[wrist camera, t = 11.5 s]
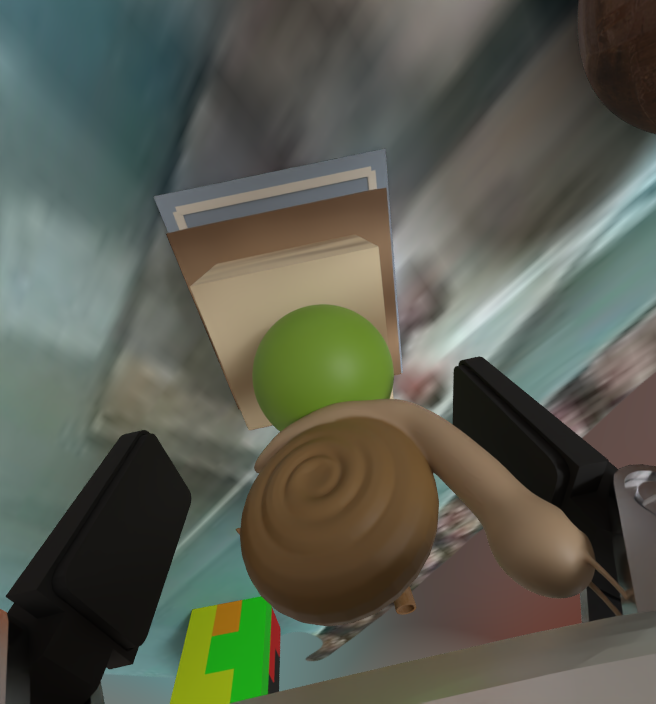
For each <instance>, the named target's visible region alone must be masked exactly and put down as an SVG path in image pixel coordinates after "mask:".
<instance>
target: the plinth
mask: <svg viewBox="0 0 656 704" xmlns="http://www.w3.org/2000/svg"><path fill="white" fill-rule="evenodd" d="M166 235H167V237H168V240H169V242H170V245H171V247H172V249H173V252H174V254H175V257H176V259H177V262H178V264H179V266H180V269H181V271H182V274H183V276H184V278H185V281H186V283H187V286H188V288H189V291H190V293H191V295H192V298H193V300H194V303H195V305H196V307H197V310H198V312H199V315H200V317H201V320H202V322H203V324H204V327H205V329H206V332H207V334H208V336H209V339H210V341H211V344H212V346H213V349H214V351H215V353H216V356H217V358H218V361H219V363H220V365H221V368H222V370H223V373H224V375H225V378H226V380H227V382H228V385H229V387H230V390H231V392H232V394H233V397H234V399H235V402H236V404H237V407H238V409H240V410H241V412H242V415H243V417H244V420H245V422H246V425H247V427H248V430H254V429H258V428H263V427H267V426H272V424H271V423H270V421H269V420H268V419H267V418H266V416H265V415H264V413H263V412H262V410H261V408H260V406H259V404H258V402H257V399H256V396H255V392H254V388H253V379H252V372H253V363H254V358H255V355H256V352H257V349H258V347H259V344H260V342H261V341H262V339H263V337H264V336H265V334H266V333H267V332H268V330H269V329H270V328H271V327H272V326H273V325H274V324H275V323H276V322H277V321H278V320H279V319H281V318H282V317H284V316H285V315H287V314H288V313H290V312H292V311H294V310H297V309H299V308H302V307H306V306H311V305H319V304H328V305H336V306H340V307H344V308H347V309H350V310H352V311H354V312H356V313H358V314H360V315H361V316H363V317H364V318H366V319H367V320H368V321H369V322H370V323H371V324H372V325H373V326H374V327H375V328H376V329H377V330H378V331H379V332H380V334H381V335H382V337H383V338H384V340H385V342H386V344H387V346H388V348H389V351H390V354H391V357H392V362H393V369H394V375H398V374H401V364H400V351H399V338H398V326H397V313H396V301H395V288H394V276H393V263H392V250H391V238H390V225H389V213H388V200H387V188H380V189H373V190H368V191H363V192H358V193H354V194H349V195H344V196H339V197H334V198H330V199H325V200H320V201H315V202H311V203H306V204H301V205H296V206H292V207H287V208H282V209H277V210H272V211H268V212H263V213H258V214H253V215H249V216H244V217H239V218H234V219H229V220H225V221H220V222H215V223H210V224H206V225H201V226H196V227H191V228H187V229H182V230H178V231H175V232H171V233H167V234H166ZM390 399H394V398H393V388H392V393H391V396H390Z"/></svg>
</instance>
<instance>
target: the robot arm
mask: <svg viewBox="0 0 656 704" xmlns="http://www.w3.org/2000/svg"><path fill="white" fill-rule="evenodd" d="M453 425H454V426H455V427H457V428H458V429H460V430H461V431H462V432H463V433H465V434H466V435H467V436H469V437H470V438H471V439H472V440H474V441H475V442H476V443H477V444H479V445H480V446H481V447H482V448H484V449H485V450H486V451H487V452H488V453H490V454H491V455H492V456H493V457H494V458H495V459H497V460H498V461H499V462H500V463H501V464H502V465H503V466H504V467H505V468H506V469H507V470H508V471H509V472H510V473H511V474H512V475H513V476H514V477H515V478H516V479H517V480H518V481H519V482H520V483H521V484H522V485H523V486H524V487H526V488H527V489H528V490H529V491H531V492H532V493H533V494H535V495H536V496H538V497H540V498H542V499H543V500H545V501H547V502H549V503H551V504H553V505H555V506H556V507H558V508H559V509H561V510H562V511H563V512H564V514H565V515H566V516H567V518H568V519H569V520H570V521H571V522H572V523H573V524H574V525H575V526H576V527H577V528H578V529H579V530H580V531H582V532H583V533H584V534H586V536H587V537H588V539H589V540H590V542H591V545H592V547H593V551H594V555H595V561H596V562H597V563H598V564H599V565H600V566H601V567H602V568H604V569H605V571H606V572H607V573H608V574H609V575H610V576H611V577H612V578H613V579H614V580H615V581H616V582H617V583H618V584H619V585H620V586H621V587H622V588H623V589H624V590H625V591H626V594H627V599H625V598H624V597H623V596H622V595H621V593H620V592H619V591H618V590H617V589H616V588H615V587H614V586H613V585H612V584H611V583H610V582H609V581H608V580H607V579H606V578H605V577H604V576H603V575H602V574H601V573H599V572H598V571H597V570H596V569H595V572H594V576H593V578H592V580H591V581H592V582H593V583H594V584H595V585H596V586H597V587H598V588H599V589H600V590H601V592H602V593H603V594H604V595H605V596H606V597H607V598H608V599H609V600H610V601H611V603H612V604H613V605H614V606H615V607H616V608H617V609H618V611H619V612H620V613H621V614H622V615H621V616H616V615H615V613H614V612H613V611H612V610H611V609H610V608H609V607H608V605H607V604H606V603H605V602H604V601H603V600H602V599H601V598H600V597H599V596H598V595H597V594H596V593H595V592H594V591H593V590H592V589H591V588H590V587H589V586H587V588H586V589H585V590H583V591H582V592H581V593H580V600H581V615H582V623H581V624H576V625H571V626H566V627H562V628H556V629H552V630H547V631H542V632H537V633H532V634H527V635H523V636H518V637H514V638H510V639H505V640H501V641H497V642H493V643H488V644H483V645H479V646H475V647H470V648H466V649H461V650H457V651H453V652H448V653H444V654H440V655H435V656H431V657H426V658H422V659H418V660H413V661H409V662H405V663H400V664H396V665H391V666H387V667H383V668H379V669H374V670H370V671H366V672H361V673H357V674H353V675H349V676H345V677H340V678H336V679H331V680H327V681H323V682H319V683H314V684H310V685H306V686H302V687H298V688H293V689H289V690H285V691H280V692H276V693H272V694H267V695H263V696H259V697H255V698H250V699H246V700H242V701H238V702H233V703H229V704H656V466H649V465H643V464H640V465H628V466H625V467H622V468H619V470H618V469H617V468H616V467H615V466H614V465H612V464H611V463H610V462H609V461H608V459H606V458H605V457H604V456H603V455H602V454H600V453H599V452H598V451H597V450H595V449H594V448H593V447H592V446H591V445H589V444H588V443H587V442H586V441H584V440H583V439H582V438H581V437H580V436H578V435H577V434H576V433H575V432H573V431H572V430H571V429H570V428H569V427H567V426H566V425H565V424H564V423H562V422H561V421H560V420H559V419H558V418H556V417H555V416H554V415H553V414H551V413H550V412H549V411H548V410H547V409H545V408H544V407H543V406H542V405H540V404H539V403H538V402H537V401H535V400H534V399H533V398H532V397H531V396H529V395H528V394H527V393H526V392H524V391H523V390H522V389H521V388H520V387H518V386H517V385H516V384H515V383H513V382H512V381H511V380H510V379H509V378H507V377H506V376H505V375H504V374H502V373H501V372H500V371H499V370H498V369H496V368H495V367H494V366H493V365H491V364H490V363H489V362H488V361H487V360H485V359H484V358H483V357H475V358H470V359H465V360H461V361H460V362H459V366H456V367H455V368H454V383H453ZM190 504H191V493H190V491H189V489H188V487H187V486H186V484H185V483H184V481H183V479H182V478H181V476H180V474H179V473H178V471H177V470H176V468H175V466H174V465H173V463H172V461H171V460H170V458H169V457H168V455H167V453H166V452H165V450H164V448H163V447H162V445H161V444H160V442H159V440H158V439H157V437H156V436H155V435H154V434H150V433H149V432H148V431H146V430H142V431H137V432H133V433H128V434H124V435H122V436H121V437H120V438H119V439H118V441H117V442H116V444H115V445H114V446H113V448H112V449H111V451H110V452H109V453H108V455H107V456H106V458H105V459H104V460H103V462H102V463H101V465H100V466H99V467H98V469H97V470H96V471H95V473H94V474H93V476H92V477H91V478H90V480H89V481H88V483H87V484H86V485H85V487H84V488H83V490H82V491H81V492H80V494H79V495H78V496H77V498H76V499H75V501H74V502H73V503H72V505H71V506H70V508H69V509H68V510H67V512H66V513H65V515H64V516H63V517H62V519H61V520H60V521H59V523H58V524H57V526H56V527H55V528H54V530H53V531H52V533H51V534H50V535H49V537H48V538H47V540H46V541H45V542H44V544H43V545H42V547H41V548H40V549H39V551H38V552H37V553H36V555H35V556H34V558H33V559H32V560H31V562H30V563H29V565H28V566H27V567H26V569H25V570H24V572H23V573H22V574H21V576H20V577H19V578H18V580H17V581H16V583H15V584H14V585H13V587H12V588H11V590H10V591H9V592H8V594H7V595H6V597H7V598H8V599H10V600H11V601H13V602H14V604H13V605H12V607H11V608H10V610H9V611H8V613H7V612H5V611H3V610H2V609H0V704H105V703H104V697H103V692H102V686H101V679H102V676H103V674H104V671H105V669H106V667H107V668H108V669H113V668H118V667H122V666H126V665H131V664H133V662H134V659H135V656H136V653H137V651H138V648H139V646H141V645H142V644H143V643H144V641H145V639H146V637H147V635H148V632H149V629H150V626H151V623H152V620H153V617H154V614H155V611H156V608H157V605H158V602H159V599H160V596H161V592H162V589H163V586H164V583H165V580H166V577H167V574H168V571H169V568H170V565H171V562H172V559H173V556H174V553H175V550H176V547H177V544H178V541H179V538H180V535H181V532H182V529H183V526H184V523H185V520H186V517H187V513H188V510H189V507H190Z"/></svg>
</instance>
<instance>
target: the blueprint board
mask: <svg viewBox="0 0 656 704" xmlns="http://www.w3.org/2000/svg"><path fill="white" fill-rule="evenodd" d="M380 188H387V200H388V213H389V225H390V238H391V250H392V263H393V276H394V288H395V301H396V313H397V326H398V338H399V351H400V364H401V373H403V371H402V358H401V345H400V332H399V319H398V306H397V293H396V280H395V267H394V254H393V241H392V228H391V215H390V202H389V189H388V176H387V163H386V150H385V149H380V150H375V151H370V152H365V153H361V154H356V155H351V156H346V157H341V158H336V159H332V160H327V161H322V162H317V163H312V164H308V165H303V166H298V167H293V168H288V169H283V170H279V171H274V172H269V173H264V174H259V175H255V176H250V177H245V178H240V179H235V180H230V181H226V182H221V183H216V184H211V185H206V186H201V187H197V188H192V189H187V190H182V191H177V192H173V193H168V194H163V195H158V196H153V197H154V199H155V202H156V204H157V207H158V209H159V211H160V214H161V216H162V219H163V221H164V224H165V226H166V228H167V231H168V233H171V232H175V231H178V230H182V229H187V228H191V227H196V226H201V225H206V224H210V223H215V222H220V221H225V220H229V219H234V218H239V217H244V216H249V215H253V214H258V213H263V212H268V211H272V210H277V209H282V208H287V207H292V206H296V205H301V204H306V203H311V202H315V201H320V200H325V199H330V198H334V197H339V196H344V195H349V194H354V193H358V192H363V191H368V190H373V189H380Z"/></svg>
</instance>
